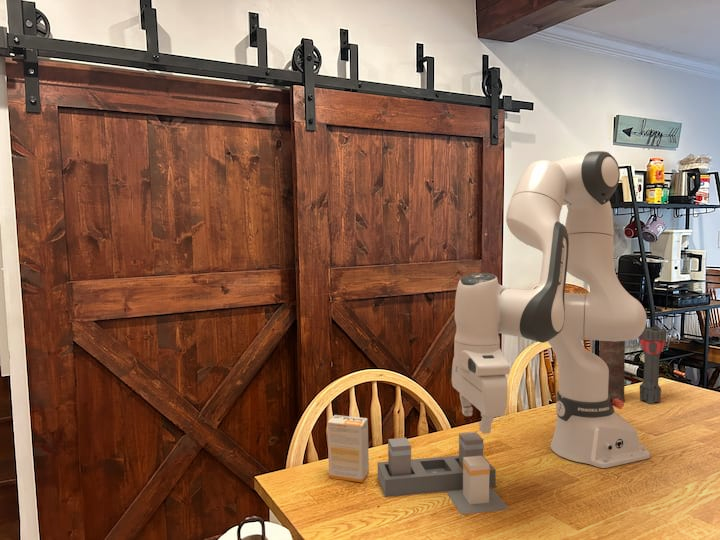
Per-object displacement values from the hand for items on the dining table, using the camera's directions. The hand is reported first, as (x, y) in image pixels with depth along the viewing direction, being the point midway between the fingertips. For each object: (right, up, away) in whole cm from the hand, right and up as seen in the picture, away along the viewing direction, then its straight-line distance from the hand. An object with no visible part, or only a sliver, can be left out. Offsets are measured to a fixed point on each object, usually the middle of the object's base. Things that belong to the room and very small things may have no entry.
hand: (475, 423), depth 106 cm
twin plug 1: (-15, -14, +7) cm, 21 cm away
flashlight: (+68, -10, +60) cm, 91 cm away
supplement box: (-26, -16, +13) cm, 33 cm away
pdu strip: (-7, -16, +9) cm, 19 cm away
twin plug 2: (+1, -13, +10) cm, 17 cm away
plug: (0, -16, +2) cm, 16 cm away
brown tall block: (+56, -10, +60) cm, 82 cm away
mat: (0, -16, +2) cm, 16 cm away
